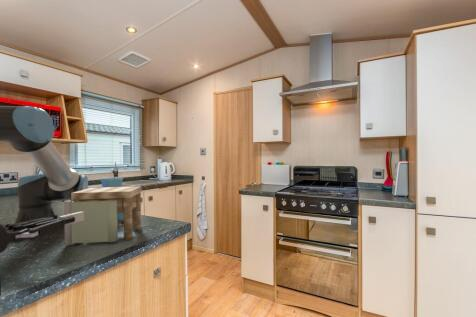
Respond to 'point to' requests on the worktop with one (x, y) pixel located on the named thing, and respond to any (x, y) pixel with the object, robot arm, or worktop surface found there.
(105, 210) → the pale green flat panel
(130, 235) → the stool
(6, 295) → the worktop surface
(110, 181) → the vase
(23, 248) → the worktop surface
